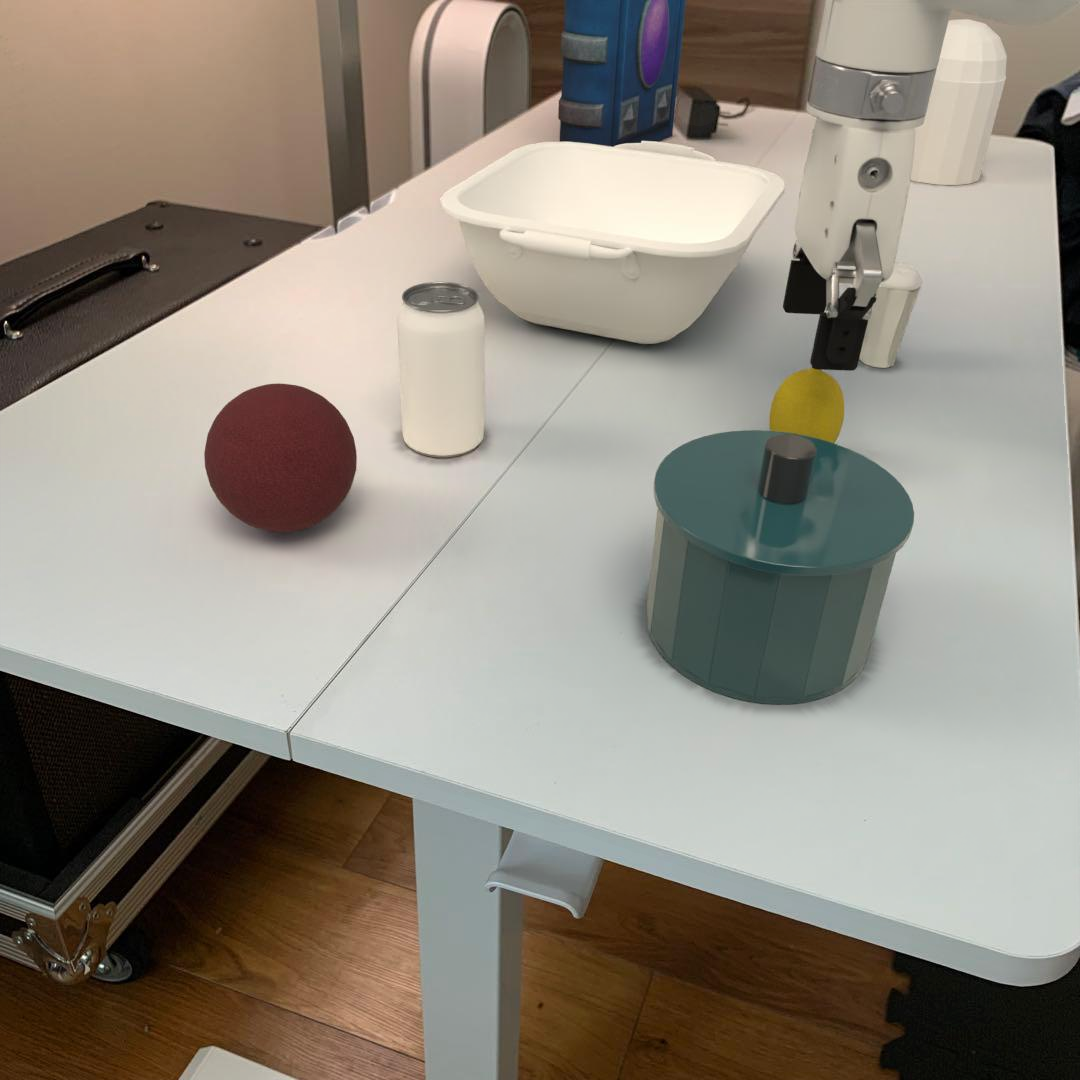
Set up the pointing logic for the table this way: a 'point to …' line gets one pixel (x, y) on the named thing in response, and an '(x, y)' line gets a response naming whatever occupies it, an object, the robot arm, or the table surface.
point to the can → (441, 368)
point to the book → (619, 70)
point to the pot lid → (783, 502)
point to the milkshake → (890, 316)
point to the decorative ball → (280, 457)
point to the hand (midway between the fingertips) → (817, 338)
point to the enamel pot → (759, 623)
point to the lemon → (808, 405)
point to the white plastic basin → (610, 233)
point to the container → (961, 106)
